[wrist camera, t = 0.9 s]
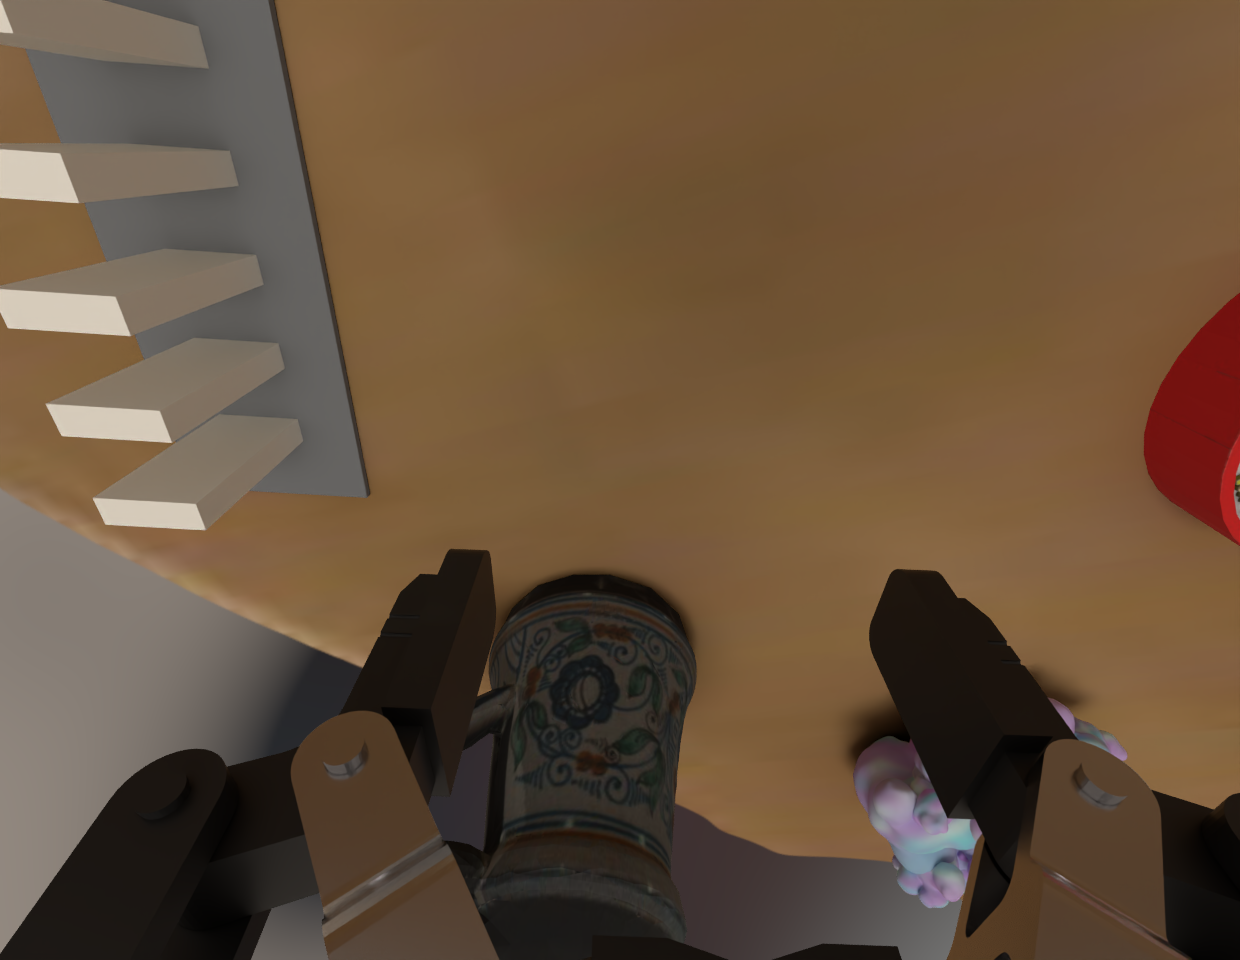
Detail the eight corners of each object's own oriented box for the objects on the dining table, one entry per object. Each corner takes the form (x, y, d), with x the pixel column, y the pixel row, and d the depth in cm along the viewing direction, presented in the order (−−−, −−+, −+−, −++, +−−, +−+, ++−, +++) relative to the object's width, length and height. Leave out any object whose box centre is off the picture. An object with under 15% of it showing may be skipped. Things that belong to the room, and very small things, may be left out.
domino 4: (193, 337, 34) (45, 403, 25) (278, 343, 34) (159, 410, 25) (202, 363, 35) (61, 435, 26) (284, 368, 35) (171, 442, 26)
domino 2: (129, 143, 29) (-84, 143, 20) (229, 150, 29) (60, 153, 20) (141, 179, 29) (-59, 193, 21) (238, 186, 30) (79, 203, 21)
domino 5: (219, 414, 36) (92, 498, 28) (297, 419, 36) (195, 503, 28) (226, 436, 37) (105, 524, 28) (303, 441, 37) (206, 530, 29)
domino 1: (88, 17, 26) (-177, -45, 17) (198, 26, 26) (-12, -32, 18) (102, 60, 27) (-145, 21, 18) (209, 68, 27) (13, 33, 18)
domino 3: (164, 248, 31) (-12, 288, 23) (256, 254, 31) (115, 296, 23) (174, 278, 32) (8, 328, 23) (263, 284, 32) (130, 336, 23)
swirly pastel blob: (825, 724, 45) (922, 1017, 36) (1132, 656, 39) (1333, 984, 31) (840, 730, 62) (909, 931, 53) (1057, 683, 56) (1172, 899, 48)
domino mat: (-95, -292, 22) (-109, -301, 21) (222, -265, 22) (213, -273, 22) (198, 483, 40) (193, 487, 39) (370, 493, 40) (367, 497, 39)
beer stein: (685, 710, 52) (726, 1113, 30) (473, 706, 52) (364, 1106, 30) (700, 570, 43) (773, 992, 22) (447, 565, 43) (270, 982, 22)
